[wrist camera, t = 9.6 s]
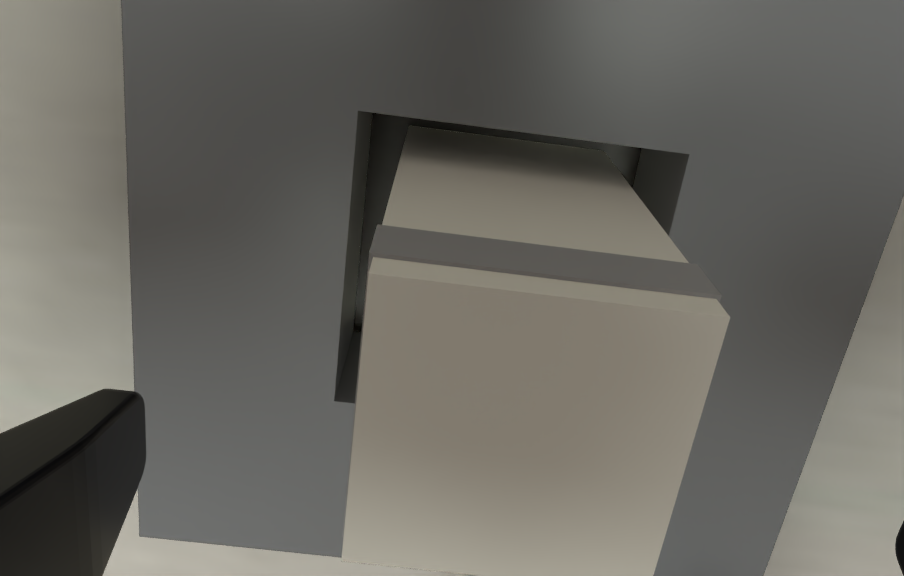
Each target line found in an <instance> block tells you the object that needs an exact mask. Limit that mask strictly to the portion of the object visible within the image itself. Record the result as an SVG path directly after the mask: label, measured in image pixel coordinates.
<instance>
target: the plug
mask: <svg viewBox="0 0 904 576" xmlns="http://www.w3.org/2000/svg"><path fill="white" fill-rule="evenodd" d="M721 296H722V295H721V294H720V293H719V291H718V290H717V289H716V288H715V286H714V285H713V284H712V283H711V281H710V280H709V279H708V277H707V276H706V275H705V274H704V272H703V271H702V270H701V268H700V267H699V266H698V265H697V264H691V263H689V262H688V261H687V260H686V258H685V257H684V256H683V254H682V253H681V252H680V250H679V249H678V248H677V247H676V245H675V244H674V243H673V241H672V240H671V239H670V237H669V236H668V235H667V233H666V232H665V231H664V229H663V228H662V227H661V226H660V224H659V223H658V222H657V220H656V219H655V218H654V216H653V215H652V214H651V212H650V211H649V210H648V208H647V207H646V206H645V204H644V203H643V202H642V201H641V199H640V198H639V197H638V195H637V194H636V193H635V191H634V190H633V189H632V187H631V186H630V185H629V183H628V182H627V181H626V180H625V178H624V177H623V176H622V174H621V173H620V172H619V170H618V169H617V168H616V166H615V165H614V164H613V162H612V161H611V160H610V158H609V157H608V156H607V155H606V153H605V152H604V151H602V150H594V149H586V148H579V147H571V146H564V145H556V144H548V143H541V142H533V141H525V140H518V139H510V138H502V137H495V136H487V135H479V134H472V133H464V132H456V131H449V130H441V129H433V128H426V127H418V126H411V125H409V128H408V131H407V135H406V139H405V142H404V146H403V150H402V153H401V157H400V161H399V164H398V168H397V172H396V175H395V179H394V182H393V186H392V190H391V193H390V197H389V201H388V204H387V208H386V212H385V215H384V219H383V223H382V225H378V224H377V227H376V230H375V234H374V237H373V241H372V244H371V247H370V251H369V259H368V269H367V280H366V290H365V301H364V312H363V322H362V333H361V343H360V354H359V365H358V375H357V386H356V396H355V407H354V418H353V428H352V439H351V450H350V460H349V471H348V481H347V492H346V503H345V513H344V524H343V534H342V537H343V548H342V558H341V561H343V562H352V563H362V564H371V565H381V566H391V567H400V568H410V569H419V570H429V571H439V572H448V573H458V574H467V575H477V576H653V575H654V572H655V569H656V565H657V562H658V558H659V555H660V552H661V548H662V545H663V542H664V538H665V535H666V532H667V528H668V525H669V522H670V518H671V515H672V511H673V508H674V505H675V501H676V498H677V495H678V491H679V488H680V485H681V481H682V478H683V475H684V471H685V468H686V465H687V461H688V458H689V454H690V451H691V448H692V444H693V441H694V438H695V434H696V431H697V428H698V424H699V421H700V418H701V414H702V411H703V407H704V404H705V401H706V397H707V394H708V391H709V387H710V384H711V381H712V377H713V374H714V371H715V367H716V364H717V360H718V357H719V354H720V350H721V347H722V344H723V340H724V337H725V334H726V330H727V327H728V324H729V320H730V316H729V315H728V314H727V312H726V311H725V310H724V308H723V307H722V306H721V304H720V300H721Z"/></svg>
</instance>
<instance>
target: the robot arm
mask: <svg viewBox="0 0 904 576" xmlns="http://www.w3.org/2000/svg"><path fill="white" fill-rule="evenodd" d="M145 463H146V422H145V403H144V399H143V397H142V396H141V394H139V393H138V392H133V391H124V390H115V389H102V390H100V391H97V392H95V393H93V394H90V395H88V396H86V397H83V398H81V399H79V400H76V401H74V402H72V403H70V404H67V405H65V406H63V407H60V408H58V409H56V410H53V411H51V412H49V413H46V414H44V415H42V416H40V417H37V418H35V419H33V420H30V421H28V422H26V423H23V424H21V425H19V426H16V427H14V428H12V429H10V430H7V431H5V432H3V433H0V576H102V575H103V573H104V570H105V568H106V565H107V563H108V560H109V558H110V555H111V553H112V550H113V548H114V546H115V543H116V541H117V538H118V536H119V533H120V531H121V528H122V526H123V523H124V521H125V518H126V516H127V513H128V511H129V508H130V506H131V503H132V501H133V498H134V496H135V493H136V491H137V488H138V486H139V483H140V481H141V478H142V475H143V472H144V468H145ZM896 556H897V560H898V563H899V565H900V568H901V570H902V573H903V575H904V521H903V524H902V526H901V528H900V530H899V533H898V535H897V538H896Z"/></svg>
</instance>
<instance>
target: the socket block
mask: <svg viewBox="0 0 904 576" xmlns="http://www.w3.org/2000/svg"><path fill="white" fill-rule="evenodd" d="M121 8H122V38H123V67H124V96H125V126H126V155H127V184H128V214H129V243H130V272H131V302H132V331H133V360H134V390H135V392H138V393H139V394H141V396H142V397H143V399H144V403H145V422H146V463H145V468H144V472H143V475H142V478H141V481H140V483H139V486H138V507H139V536H140V537H150V538H159V539H169V540H178V541H188V542H198V543H207V544H217V545H226V546H236V547H246V548H255V549H265V550H274V551H284V552H294V553H303V554H313V555H322V556H332V557H342V548H343V537H342V534H343V524H344V513H345V503H346V492H347V481H348V471H349V460H350V450H351V439H352V428H353V418H354V407H355V396H356V386H357V375H358V365H359V354H360V343H361V333H362V332H356V331H353V328H354V317H355V306H356V294H357V283H358V272H359V261H360V250H361V238H362V227H363V216H364V205H365V194H366V182H367V171H368V160H369V149H370V138H371V127H372V115H373V113H378V114H386V115H394V116H401V117H409V118H417V119H424V120H432V121H439V122H447V123H455V124H462V125H470V126H478V127H485V128H493V129H500V130H508V131H516V132H523V133H531V134H539V135H546V136H554V137H561V138H569V139H577V140H584V141H592V142H600V143H607V144H615V145H622V146H630V147H638V148H642V149H641V154H640V158H639V162H638V167H637V171H636V176H635V180H634V184H633V190H634V191H635V193H636V194H637V195H638V197H639V198H640V199H641V201H642V202H643V203H644V204H645V206H646V207H647V208H648V210H649V211H650V212H651V214H652V215H653V216H654V218H655V219H656V220H657V222H658V223H659V224H660V226H661V227H662V228H663V229H664V231H665V232H666V233H667V235H668V236H669V237H670V239H671V240H672V241H673V243H674V244H675V245H676V247H677V248H678V249H679V250H680V252H681V253H682V254H683V256H684V257H685V258H686V260H687V261H688V262H689V263H691V264H697V265H698V266H699V267H700V268H701V270H702V271H703V272H704V274H705V275H706V276H707V277H708V279H709V280H710V281H711V283H712V284H713V285H714V286H715V288H716V289H717V290H718V291H719V293H720V294H721V295H722V296H721V300H720V304H721V306H722V307H723V308H724V310H725V311H726V312H727V314H728V315H729V316H730V320H729V324H728V327H727V330H726V334H725V337H724V340H723V344H722V347H721V350H720V354H719V357H718V360H717V364H716V367H715V371H714V374H713V377H712V381H711V384H710V387H709V391H708V394H707V397H706V401H705V404H704V407H703V411H702V414H701V418H700V421H699V424H698V428H697V431H696V434H695V438H694V441H693V444H692V448H691V451H690V454H689V458H688V461H687V465H686V468H685V471H684V475H683V478H682V481H681V485H680V488H679V491H678V495H677V498H676V501H675V505H674V508H673V511H672V515H671V518H670V522H669V525H668V528H667V532H666V535H665V538H664V542H663V545H662V548H661V552H660V555H659V558H658V562H657V565H656V569H655V572H654V575H653V576H763V575H764V572H765V570H766V567H767V564H768V561H769V559H770V556H771V553H772V551H773V548H774V545H775V542H776V540H777V537H778V534H779V532H780V529H781V526H782V523H783V521H784V518H785V515H786V513H787V510H788V507H789V504H790V502H791V499H792V496H793V494H794V491H795V488H796V486H797V483H798V480H799V477H800V475H801V472H802V469H803V467H804V464H805V461H806V458H807V456H808V453H809V450H810V448H811V445H812V442H813V439H814V437H815V434H816V431H817V429H818V426H819V423H820V421H821V418H822V415H823V412H824V410H825V407H826V404H827V402H828V399H829V396H830V393H831V391H832V388H833V385H834V383H835V380H836V377H837V374H838V372H839V369H840V366H841V364H842V361H843V358H844V355H845V353H846V350H847V347H848V345H849V342H850V339H851V337H852V334H853V331H854V328H855V326H856V323H857V320H858V318H859V315H860V312H861V309H862V307H863V304H864V301H865V299H866V296H867V293H868V290H869V288H870V285H871V282H872V280H873V277H874V274H875V272H876V269H877V266H878V263H879V261H880V258H881V255H882V253H883V250H884V247H885V244H886V242H887V239H888V236H889V234H890V231H891V228H892V225H893V223H894V220H895V217H896V215H897V212H898V209H899V206H900V204H901V201H902V198H903V196H904V0H121Z"/></svg>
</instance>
